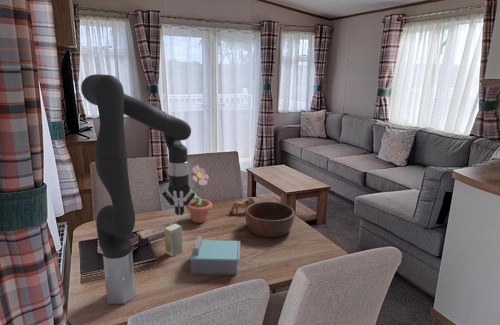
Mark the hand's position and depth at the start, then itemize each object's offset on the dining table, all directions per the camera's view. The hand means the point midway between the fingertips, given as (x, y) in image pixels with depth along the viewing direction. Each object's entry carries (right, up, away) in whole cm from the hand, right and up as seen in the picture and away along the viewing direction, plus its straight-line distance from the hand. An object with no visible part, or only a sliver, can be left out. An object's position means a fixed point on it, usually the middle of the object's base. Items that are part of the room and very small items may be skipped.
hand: (179, 214), depth 134 cm
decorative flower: (0, -11, +46) cm, 48 cm away
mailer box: (+13, -22, +6) cm, 26 cm away
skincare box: (-6, -19, +14) cm, 24 cm away
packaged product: (-18, -16, +27) cm, 36 cm away
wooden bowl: (+37, -14, +39) cm, 56 cm away
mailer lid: (+14, -17, +5) cm, 23 cm away
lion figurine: (+24, -8, +58) cm, 63 cm away
